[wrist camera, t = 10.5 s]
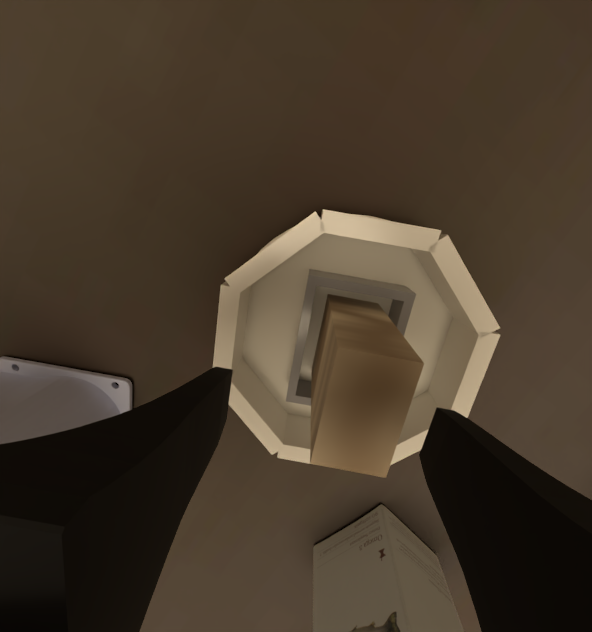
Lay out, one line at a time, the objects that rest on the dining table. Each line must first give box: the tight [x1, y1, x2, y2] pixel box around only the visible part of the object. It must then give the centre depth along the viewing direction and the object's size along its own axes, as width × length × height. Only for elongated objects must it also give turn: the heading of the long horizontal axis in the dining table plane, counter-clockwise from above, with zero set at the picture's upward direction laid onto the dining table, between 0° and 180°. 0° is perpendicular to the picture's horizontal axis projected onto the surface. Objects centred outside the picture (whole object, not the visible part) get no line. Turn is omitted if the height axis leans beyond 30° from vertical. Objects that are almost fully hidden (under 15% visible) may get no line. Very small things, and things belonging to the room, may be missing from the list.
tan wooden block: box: [310, 294, 424, 478], centre depth 15 cm, size 3×5×8 cm, turn 170°
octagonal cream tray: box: [213, 209, 500, 465], centre depth 18 cm, size 14×14×4 cm
